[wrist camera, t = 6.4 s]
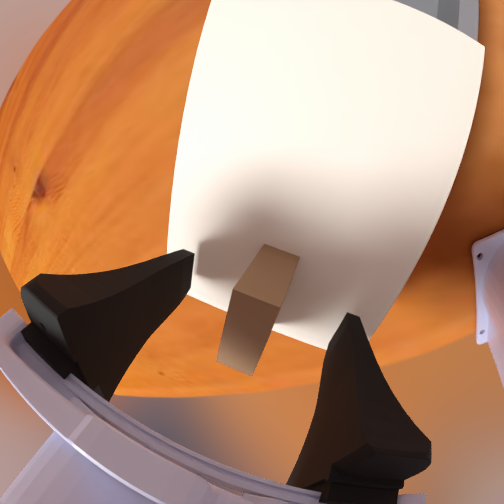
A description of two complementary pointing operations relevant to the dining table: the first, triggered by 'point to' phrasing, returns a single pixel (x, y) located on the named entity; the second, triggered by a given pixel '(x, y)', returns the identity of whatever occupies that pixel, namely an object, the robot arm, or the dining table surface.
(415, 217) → the lid
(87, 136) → the dining table surface
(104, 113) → the dining table surface
